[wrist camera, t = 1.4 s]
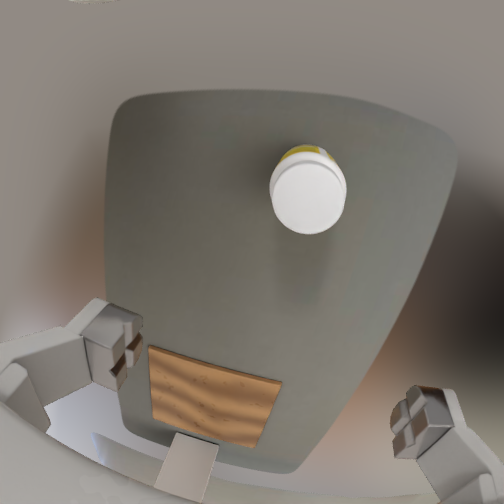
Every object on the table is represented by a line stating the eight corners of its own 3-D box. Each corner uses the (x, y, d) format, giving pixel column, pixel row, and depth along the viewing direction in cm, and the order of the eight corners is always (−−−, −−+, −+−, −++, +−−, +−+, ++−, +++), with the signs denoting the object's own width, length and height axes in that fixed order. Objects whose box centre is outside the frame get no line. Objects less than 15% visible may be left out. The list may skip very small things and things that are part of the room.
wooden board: (150, 344, 35) (148, 347, 34) (281, 381, 34) (281, 385, 33) (154, 415, 42) (153, 418, 41) (255, 445, 40) (254, 448, 40)
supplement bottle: (267, 184, 25) (248, 214, 17) (294, 133, 23) (288, 139, 15) (319, 212, 25) (323, 255, 18) (348, 163, 23) (368, 185, 16)
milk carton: (175, 448, 46) (139, 536, 28) (176, 430, 42) (135, 529, 25) (214, 461, 45) (185, 551, 28) (219, 444, 42) (187, 547, 25)
